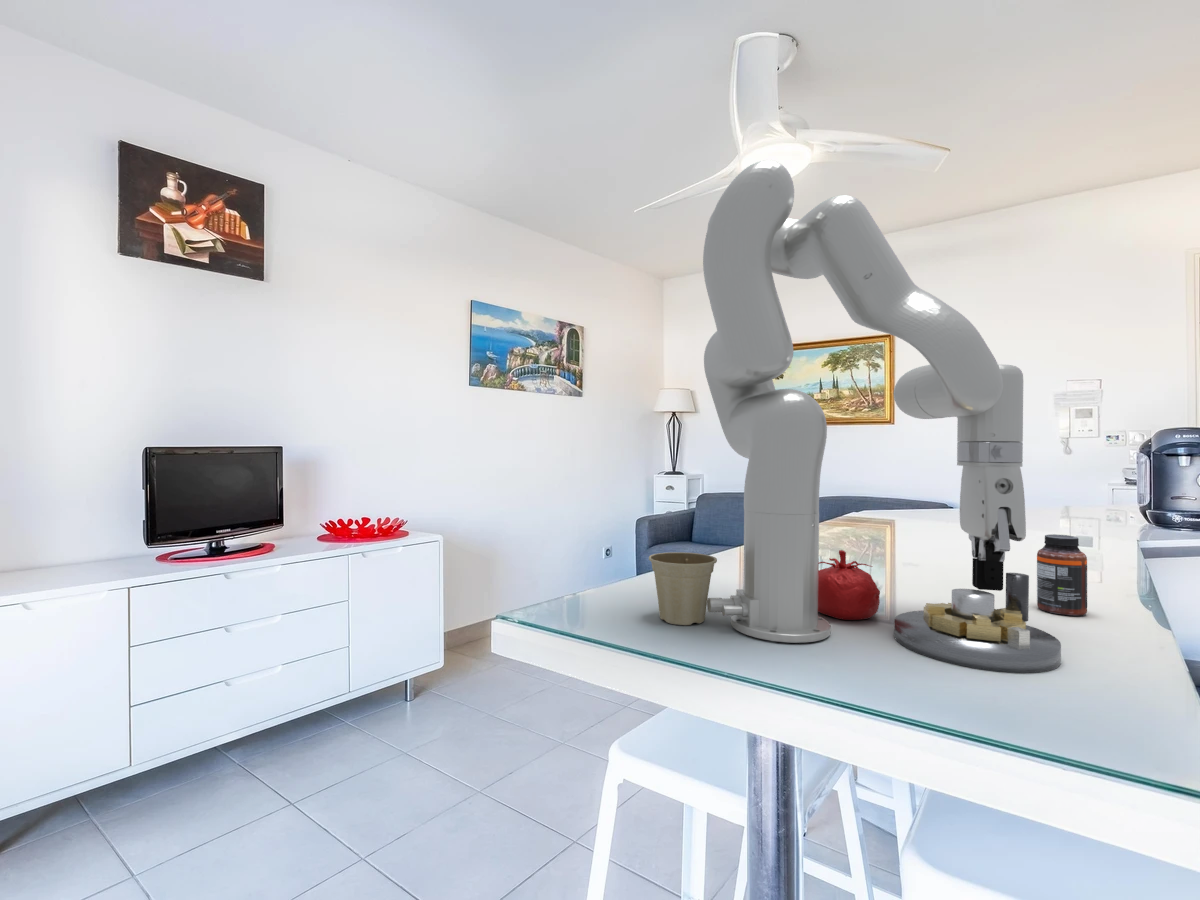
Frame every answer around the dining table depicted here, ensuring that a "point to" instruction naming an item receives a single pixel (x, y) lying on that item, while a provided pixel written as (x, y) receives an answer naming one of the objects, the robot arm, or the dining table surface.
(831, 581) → the pomegranate
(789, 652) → the dining table surface
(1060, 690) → the dining table surface
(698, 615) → the flower pot
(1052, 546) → the supplement bottle
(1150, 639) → the dining table surface
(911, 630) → the dark oval platter
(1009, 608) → the gold segmented ring
